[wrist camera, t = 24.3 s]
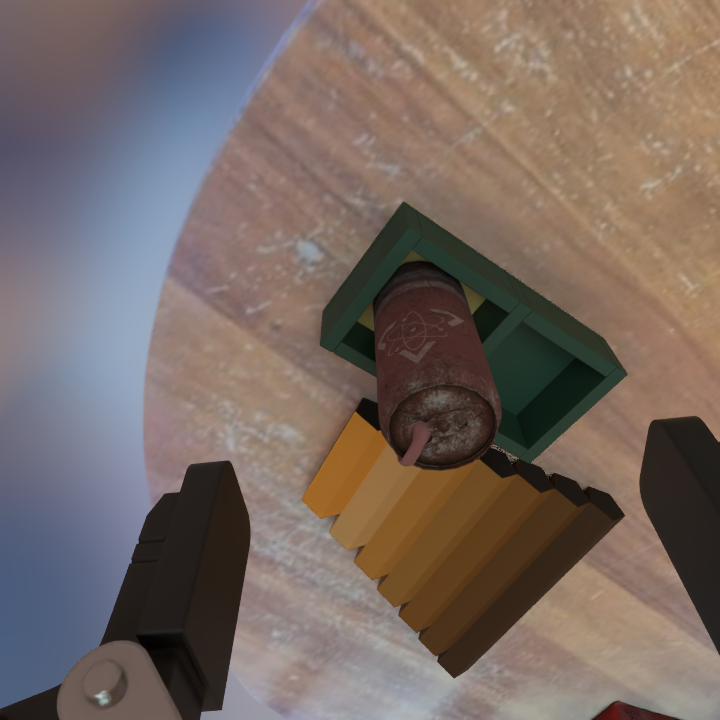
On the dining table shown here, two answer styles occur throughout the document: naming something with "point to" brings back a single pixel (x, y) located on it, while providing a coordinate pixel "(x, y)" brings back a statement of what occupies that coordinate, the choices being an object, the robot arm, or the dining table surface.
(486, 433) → the can
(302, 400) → the dining table surface
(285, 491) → the dining table surface
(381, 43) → the dining table surface
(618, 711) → the soda box
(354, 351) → the divided box
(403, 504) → the pan flute
